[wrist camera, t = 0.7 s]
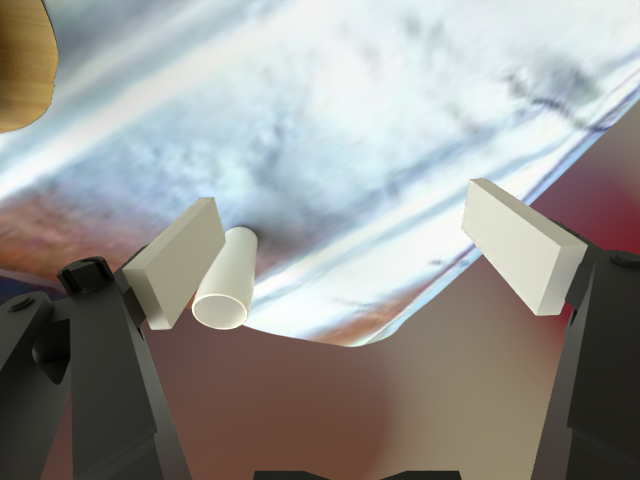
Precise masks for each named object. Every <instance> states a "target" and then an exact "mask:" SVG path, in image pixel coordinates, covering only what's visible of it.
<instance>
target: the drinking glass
mask: <svg viewBox="0 0 640 480" xmlns="http://www.w3.org/2000/svg"><path fill="white" fill-rule="evenodd" d="M224 236H225V239H226V243H225V245H224V246H223V248H222V250H221V251H220V253H219V254H218V256H217V257H216V259H215V261H214V262H213V264H212V265H211V267H210V268H209V270H208V272H207V273H206V275H205V276H204V278H203V279H202V281H201V283H200V285H199V288H198V290H197V293H196V296H195V299H194V302H193V305H192V312H193V314H194V316H195V317H196V319H197V320H198V321H200V322H201V323H203V324H204V325H206V326H209V327H212V328H216V329H231V328H235V327H238V326H240V325H242V324H243V323H244V322H245V321H246V320H247V318H248V314H249V310H250V306H251V302H252V297H253V290H254V277H255V264H256V252H257V246H258V239H257V236H256V235H255V233H254V232H253V231H251V230H250V229H248V228H245V227H234V228H231V229H229V230H228V231H227V232H226V233H225V235H224Z"/></svg>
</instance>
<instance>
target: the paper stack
mask: <svg viewBox="0 0 640 480" xmlns="http://www.w3.org/2000/svg"><path fill="white" fill-rule="evenodd" d="M58 61H59V57H58V50H57V45H56V40H55V36H54V32H53V30H52V27H51V24H50V21H49V18H48V15H47V13H46V11H45V9H44V6H43V4H42V2H41V0H0V133H3V132H9V131H13V130H16V129H19V128H22V127H24V126H27V125H28V124H30V123H32V122H34V121H35V120H36V119H38V118H39V117H40V116H41V115H42V114H43V113H44V112H45V111H46V110H47V108H48V107H49V106H50V104H51V100H52V94H53V89H54V87H55V85H53V84H52V83H53V82H54V79H55V72H56V70H57V64H58Z"/></svg>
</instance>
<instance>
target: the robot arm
mask: <svg viewBox="0 0 640 480" xmlns="http://www.w3.org/2000/svg"><path fill="white" fill-rule="evenodd" d="M461 229H462V230H463V231H464V232H465V233H466V234H467V236H468V237H469V238H470V239H471V240H472V241H473V243H474V244H475V245H476V246H477V247H478V248H479V250H480V251H481V252H482V253H483V254H484V255H485V257H486V258H487V259H488V260H489V261H490V262H491V264H492V265H493V266H494V267H495V268H496V269H497V270H498V272H499V273H500V274H501V275H502V276H503V278H504V279H505V280H506V281H507V282H508V283H509V285H510V286H511V287H512V288H513V289H514V290H515V292H516V293H517V294H518V295H519V296H520V297H521V299H522V300H523V301H524V302H525V303H526V304H527V306H528V307H529V308H530V309H531V310H532V311H533V313H534V314H535V315H559V314H560V312H561V309H562V307H563V305H564V302H565V300H566V301H567V302H568V303H569V304H570V305H571V306H572V307H573V308H574V310H573V312H572V314H571V316H570V319H569V321H568V323H567V326H566V328H565V330H564V332H563V334H565V335H566V336H565V340H564V344H563V348H562V353H561V357H560V361H559V365H558V369H557V373H556V377H555V381H554V385H553V390H552V394H551V398H550V402H549V406H548V410H547V414H546V418H545V423H544V426H543V431H542V435H541V439H540V443H539V447H538V451H537V455H536V460H535V464H534V468H533V472H532V476H531V480H640V255H637V254H633V253H630V252H626V251H619V250H605V251H604V250H603V249H601V248H600V247H598V246H597V245H595V244H593V243H592V242H590V241H588V240H587V239H585V238H584V237H582V236H580V235H579V234H578V233H576V232H574V231H571V229H570V228H568V227H567V226H565V225H563V224H562V223H560V222H557V221H554V220H552V219H549V218H546V217H544V216H543V215H541V214H540V213H538V212H537V211H535V210H533V209H532V208H530V207H529V206H527V205H526V204H524V203H523V202H521V201H520V200H518V199H517V198H515V197H514V196H512V195H511V194H509V193H508V192H506V191H504V190H503V189H501V188H500V187H498V186H497V185H495V184H494V183H492V182H491V181H489V180H488V179H486V178H480V179H470V180H469V186H468V192H467V198H466V204H465V210H464V216H463V222H462V228H461ZM225 243H226V239H225V236H224V232H223V228H222V225H221V221H220V217H219V214H218V210H217V206H216V203H215V199H214V197H205V198H199V199H198V200H197V201H196V202H195V203H194V204H193V205H192V206H190V207H189V208H188V209H187V210H186V211H185V212H184V213H183V214H182V215H181V216H180V217H178V218H177V219H176V220H175V221H174V222H173V223H172V224H171V225H170V226H169V227H168V228H167V229H165V230H164V231H163V232H162V233H161V234H160V235H159V236H158V237H157V238H156V239H155V240H153V241H152V242H151V243H150V244H148V245H146V246H144V247H142V248H141V249H140V250H139V251H138V252H136V253H135V254H134V256H132V257H131V258H130V259H129V260H128V262H125V263H124V264H123V265H122V266H121V267H120V268H119V269H118V270H116V271H115V272H114V273H113V274H112V272H111V270H110V268H109V266H108V264H107V262H106V260H105V259H104V258H103V257H98V256H96V257H88V258H85V259H81V260H78V261H76V262H73V263H71V264H69V265H67V266H65V267H64V268H63V269H61V270H60V271H59V272H58V274H57V277H58V279H59V280H60V282H61V283H62V285H63V286H64V288H65V290H66V291H67V293H68V294H69V296H70V298H66V299H61V300H57V301H53V302H51V300H50V299H49V297H48V296H47V294H46V293H44V292H42V291H36V292H30V293H27V294H24V295H19V296H16V297H15V298H12V299H10V300H8V302H6V303H4V304H3V305H1V306H0V480H40V478H41V474H42V472H43V469H44V466H45V463H46V460H47V457H48V454H49V451H50V448H51V445H52V442H53V439H54V436H55V433H56V430H57V427H58V424H59V421H60V418H61V415H62V412H63V410H64V406H65V403H66V401H67V398H68V395H69V392H70V389H71V395H72V396H71V397H72V451H73V480H193V479H192V477H191V474H190V470H189V467H188V464H187V462H186V459H185V456H184V453H183V450H182V447H181V444H180V441H179V438H178V435H177V432H176V429H175V426H174V423H173V420H172V417H171V414H170V411H169V408H168V405H167V403H166V399H165V396H164V393H163V390H162V387H161V385H160V382H159V378H158V375H157V372H156V369H155V366H154V363H153V361H152V358H151V354H150V351H149V348H148V346H147V342H146V339H145V336H144V334H143V331H142V330H141V328H140V325H141V323H142V322H143V321H144V319H145V318H146V319H147V321H148V323H149V325H150V327H151V329H152V330H153V329H171V328H172V327H173V325H174V323H175V322H176V320H177V319H178V317H179V315H180V314H181V312H182V311H183V309H184V308H185V306H186V305H187V303H188V301H189V300H190V298H191V297H192V295H193V294H194V292H195V290H196V289H197V287H198V286H199V284H200V283H201V281H202V279H203V278H204V276H205V275H206V273H207V272H208V270H209V268H210V267H211V265H212V264H213V262H214V261H215V259H216V257H217V256H218V254H219V253H220V251H221V250H222V248H223V246H224V245H225ZM253 480H329V479H326V478H323V477H320V476H317V475H314V474H311V473H308V472H305V471H255V473H254V479H253ZM381 480H462V479H461V476H460V474H459V471H405V472H402V473H399V474H396V475H393V476H390V477H387V478H384V479H381Z"/></svg>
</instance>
